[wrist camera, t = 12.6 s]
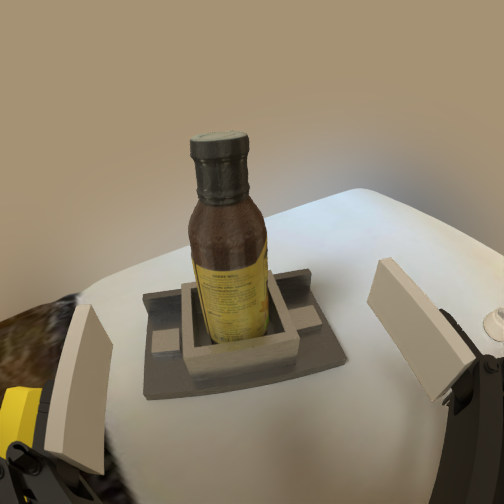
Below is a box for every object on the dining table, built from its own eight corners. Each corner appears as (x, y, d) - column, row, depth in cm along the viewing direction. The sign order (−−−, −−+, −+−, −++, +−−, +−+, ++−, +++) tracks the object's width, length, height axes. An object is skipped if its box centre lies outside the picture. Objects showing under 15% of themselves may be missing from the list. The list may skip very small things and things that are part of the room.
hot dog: (24, 530, 6) (84, 552, 7) (-24, 514, 2) (35, 547, 3) (32, 396, 21) (81, 399, 22) (-1, 362, 17) (47, 363, 18)
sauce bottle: (279, 341, 27) (288, 135, 16) (226, 369, 25) (195, 149, 14) (247, 306, 32) (237, 125, 21) (198, 327, 29) (163, 137, 18)
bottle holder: (147, 400, 23) (127, 372, 20) (151, 315, 33) (139, 284, 30) (344, 364, 26) (355, 332, 23) (306, 291, 35) (309, 258, 33)
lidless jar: (511, 342, 23) (500, 317, 27) (521, 327, 21) (508, 302, 25) (488, 344, 24) (478, 317, 28) (499, 328, 22) (486, 301, 26)
